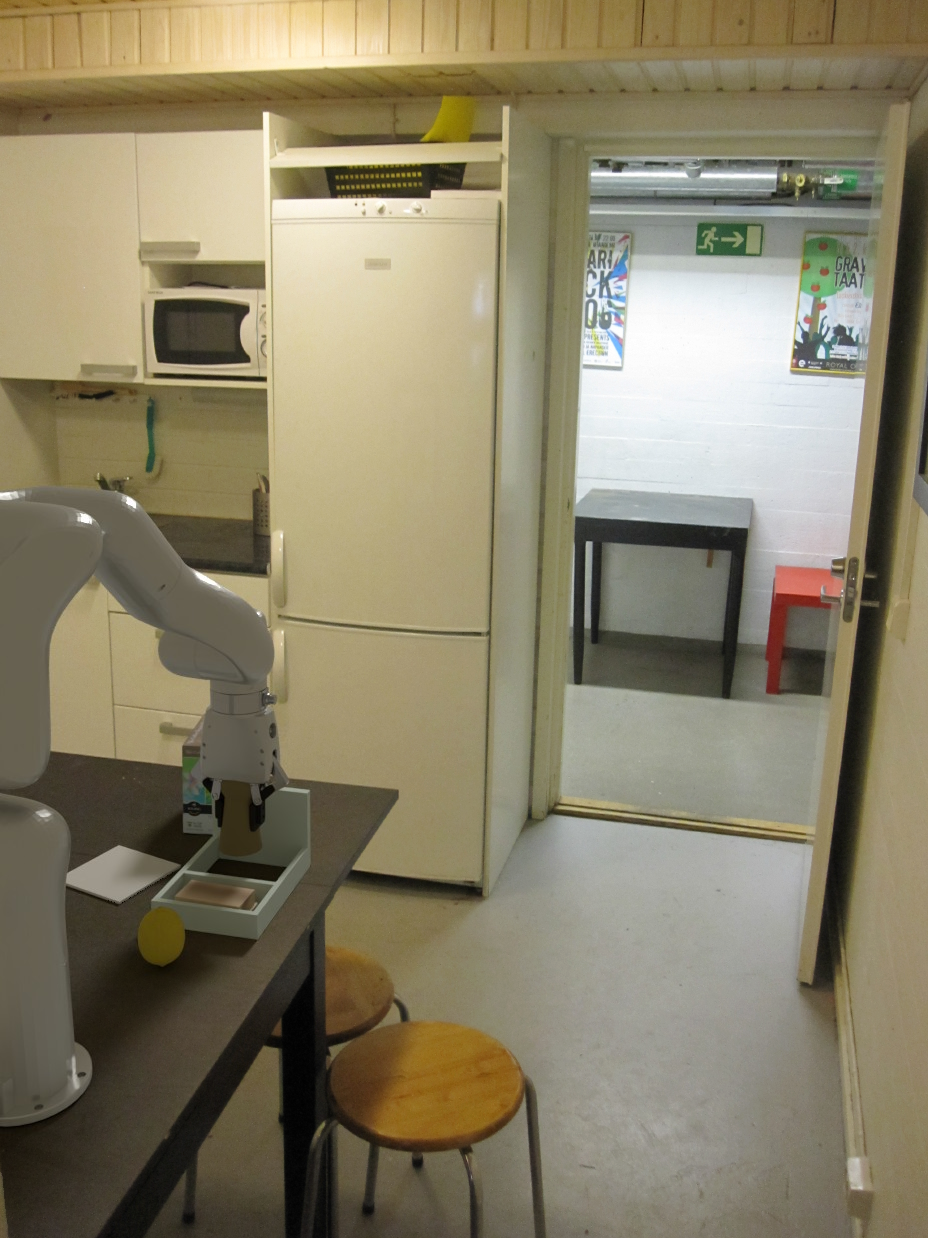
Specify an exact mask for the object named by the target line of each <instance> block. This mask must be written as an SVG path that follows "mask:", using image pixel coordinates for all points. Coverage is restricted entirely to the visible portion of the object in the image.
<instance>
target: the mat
mask: <svg viewBox="0 0 928 1238" xmlns="http://www.w3.org/2000/svg"><path fill="white" fill-rule="evenodd" d="M181 865H182V864H179V863H176V862H173V861H169V860H166V859H163V858H159V857H157V856H154V855H151V854H148V853H144V852H142V851H139V850H136V849H133V848H128V847H126V846H122V845H119V844H118V845H117V846H115V847H113V848H111V849H108V850H107V851H106V852H103V853H102V854H100V855H98V856H96V857H94V858H93V859H91V860H89V861H87V862H85V863H83V864H81V865H79V866H78V867H76V868H74V869H72V870H71V871H69V872H68V871H67V879H66V887H69V888H72V889H75V890H77V891H80V892H82V893H83V892H84V893H86V894H89V895H92V896H95V897H98V898H100V899H103V900H106V901H108V900H109V902H111V901H112V902H111V903H114V902H115V903H114V904H117V905H121V904H123V903H125V902H126V901H128V900H130V899H131V898H133V897H134V895H135V896H136V895H137V893H138V892H139V893H141V892H143V891H145V890H146V889H148V888H149V887H151V886H152V884H153V885H155V884H156V883H157V881H158V882H160V879H161V880H162V878H163V879H164V878H166V877H167V875H168V876H169V875H171V874H173V873H174V872H176V871H178V870H180V869H182V866H181ZM172 872H173V873H172ZM155 882H156V883H155ZM150 885H151V886H150ZM148 886H149V887H148ZM147 887H148V888H147ZM145 888H146V889H145ZM142 890H143V891H142ZM140 891H141V892H140ZM139 893H138V894H139ZM130 897H131V898H130ZM129 898H130V899H129ZM124 901H125V902H124ZM122 902H123V903H122Z"/></svg>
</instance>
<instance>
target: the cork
mask: <svg viewBox="0 0 928 1238" xmlns="http://www.w3.org/2000/svg"><path fill="white" fill-rule="evenodd" d="M221 792H222V794H223V795H224V796H225V799H224V808H223V821H222V826H221V831H220V839H219V848H218V849H219V851H220V852H221V853H223V854H225V855H228V856H236V857H238V856H248V855H252V854H254V853H257V852H258V851H260V850H261V848H262V838H261V832H260V827H259V828H258V829H257V830H256V831H255V832H252V831H251V830H250V823H249V806H250V804H251V803H253V798H252V793H251V787H250V783H244V782H239V781H233V780H222V781H221Z"/></svg>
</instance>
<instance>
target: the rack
mask: <svg viewBox="0 0 928 1238" xmlns="http://www.w3.org/2000/svg"><path fill="white" fill-rule="evenodd" d="M268 785H269V784H267V786H268ZM212 823H213V834H212V836H211V837H210V838H209V839H208V840H207V842H205V844H204V845H202V847H201V848H199V850H198V851H197V852H196V853H195V854H194V855H193V856H192V857H191V858H190V860H188V861H187V862H186V863H185V864H184V866H183V867H181V868H180V869H179V871H177V873H176V874H175V875H174V876H173V877H172V878H171V879H170V880H169V881H168V882H167V883H166V884H165V885H164V887H163V888H162V889H160V891H159V892H158V893H156V895H155V896H154V897H152V899H151V900H150V906H151V910H153V909H155V908H158V907H160V906H161V907H166V908H170V909H172V910H174V911H175V912H176V913H177V914H178V915H179V916H180V918H181V920H182V923H183V926H184V930H187V931H188V930H189V931H193V932H195V931H196V932H201V933H209V934H215V935H222V936H231V937H237V938H242V939H243V938H244V939H250V940H259V938H260V937H261V936H262V934H263V933H264V932H265V930H266V929H267V928H268V926H269V925H270V923H271V922H272V920H273V919H274V918H275V917H276V915H277V914H278V912H279V910H280V909H281V908H282V907H283V905H284V903H285V902H286V901H287V900H288V898H289V897H290V895H291V894H292V892H293V891H294V890H295V888H296V887H297V885H299V883H300V882H301V880H302V878H304V876H305V875H306V873H307V872H308V871H309V870H310V867H311V865H312V864H311V863H312V862H311V790H310V789H305V788H295V787H288V786H287V787H286V786H285V787H284V788H282V789H280V790H278V791H276V792H274V793H272V794H271V795H270V796H269V797H268V798H267V799H266V800H265V822H264V823H263V824H262V825H261V826H260V832H261V838H262V848H261V850H260V851H258V852H257V853H254V854H252V855H248V856H238V857H236V856H228V855H225V854H223V853H221V852H220V851H219V849H218V848H219V839H220V831H221V828H220V827H218V824H217V818H215V800H214V799H212ZM219 859H220V860H221V859H222V860H229V861H230V860H231V861H238V862H245V863H254V864H260V865H261V864H262V865H267V866H268V865H269V866H276V867H285V869H284V870H283V872H282V873H281V874H280V876H279V877H278V879H277V880H276V881H271V880H263V879H255V878H248V877H239V876H232V875H224V874H217V873H211V872H210V873H209V872H208V871H209V870H210V869H211V867H213V866H214V864H215V863H216V861H218V860H219ZM191 880H197V881H204V882H210V883H216V884H222V885H229V886H235V887H241V888H247V889H254V890H255V902H258V906H257V908H256V909H255V910H254V911H247V910H240V909H233V908H226V907H219V906H211V905H204V904H197V903H190V902H183V901H175V895H176V894H177V893H178V892H179V891H181V890H182V889H183V888H184V887H185V886H186V885H187V884H188V883H189V882H190V881H191ZM151 910H150V911H151Z"/></svg>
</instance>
